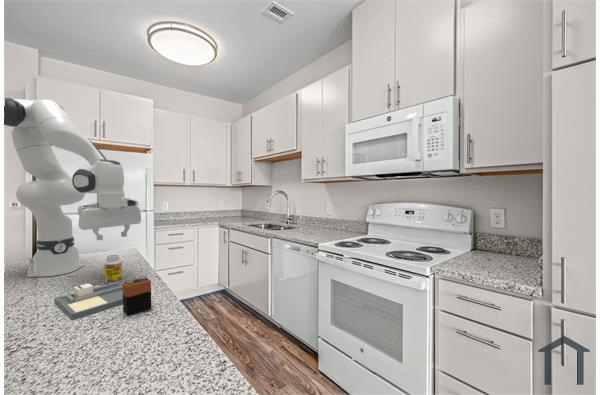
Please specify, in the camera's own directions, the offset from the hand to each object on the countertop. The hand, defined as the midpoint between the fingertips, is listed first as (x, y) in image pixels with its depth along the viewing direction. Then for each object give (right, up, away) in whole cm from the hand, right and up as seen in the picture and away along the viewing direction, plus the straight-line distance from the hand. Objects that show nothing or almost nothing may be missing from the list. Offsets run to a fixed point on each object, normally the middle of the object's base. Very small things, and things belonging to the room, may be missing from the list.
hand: (112, 238), depth 109 cm
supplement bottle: (0, -17, +1) cm, 17 cm away
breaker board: (+6, -18, -16) cm, 25 cm away
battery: (+22, -19, -22) cm, 37 cm away
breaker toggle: (+2, -17, -17) cm, 24 cm away
